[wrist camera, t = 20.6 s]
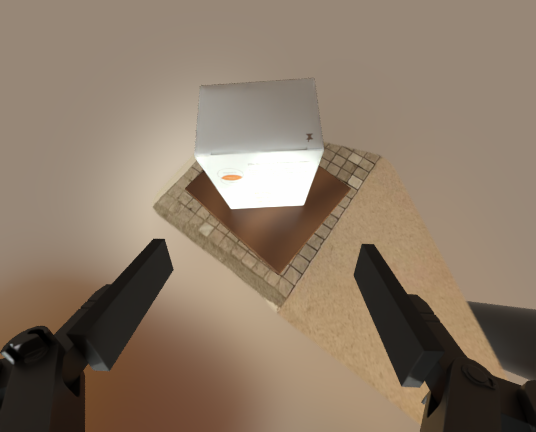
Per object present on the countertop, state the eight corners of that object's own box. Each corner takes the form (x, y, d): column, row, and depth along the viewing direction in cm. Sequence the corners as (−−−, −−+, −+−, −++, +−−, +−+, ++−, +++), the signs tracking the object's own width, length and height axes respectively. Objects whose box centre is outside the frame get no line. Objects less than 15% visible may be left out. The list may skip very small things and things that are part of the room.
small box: (300, 160, 24) (318, 74, 14) (304, 207, 22) (328, 148, 12) (230, 164, 24) (197, 81, 14) (229, 210, 22) (191, 155, 12)
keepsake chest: (328, 215, 32) (351, 188, 23) (278, 275, 30) (279, 274, 20) (261, 163, 35) (256, 120, 26) (211, 214, 33) (184, 188, 23)
